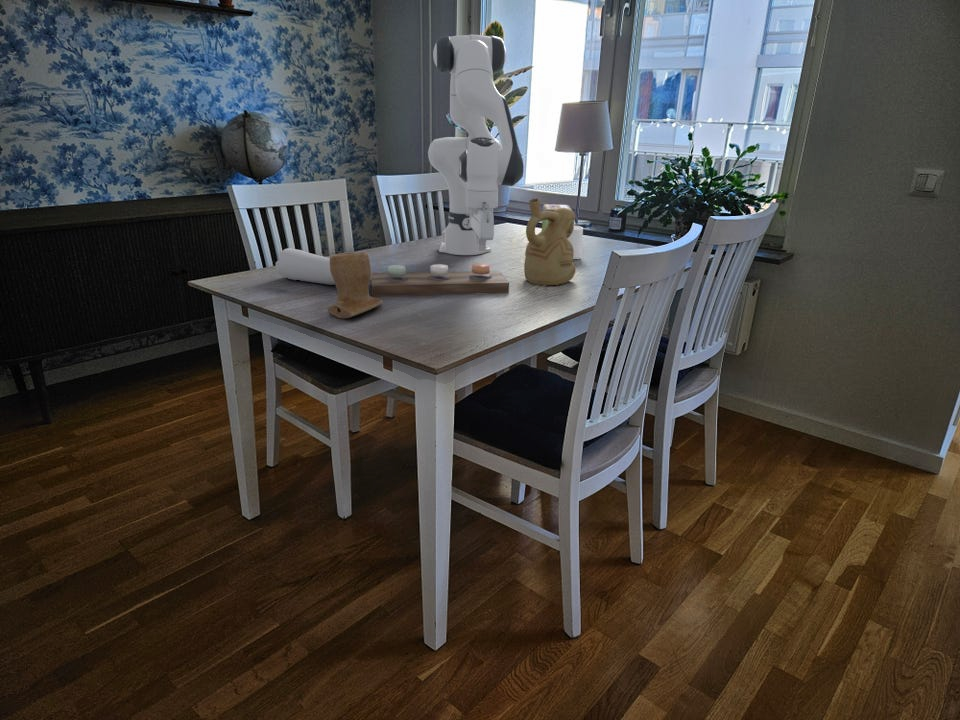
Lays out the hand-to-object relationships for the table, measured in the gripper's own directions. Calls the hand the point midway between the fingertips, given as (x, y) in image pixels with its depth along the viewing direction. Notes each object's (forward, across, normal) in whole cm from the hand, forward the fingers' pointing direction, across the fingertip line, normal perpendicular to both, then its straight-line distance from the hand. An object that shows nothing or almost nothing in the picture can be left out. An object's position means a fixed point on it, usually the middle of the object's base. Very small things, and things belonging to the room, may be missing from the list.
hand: (481, 249), depth 178 cm
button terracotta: (+6, 0, 0) cm, 7 cm away
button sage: (+6, 0, +24) cm, 25 cm away
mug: (+11, +34, -36) cm, 51 cm away
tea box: (+12, +56, -38) cm, 69 cm away
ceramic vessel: (+11, +4, -21) cm, 24 cm away
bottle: (+11, +6, +45) cm, 47 cm away
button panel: (+11, 0, +12) cm, 16 cm away
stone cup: (+11, -20, +36) cm, 43 cm away
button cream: (+7, 0, +12) cm, 14 cm away
